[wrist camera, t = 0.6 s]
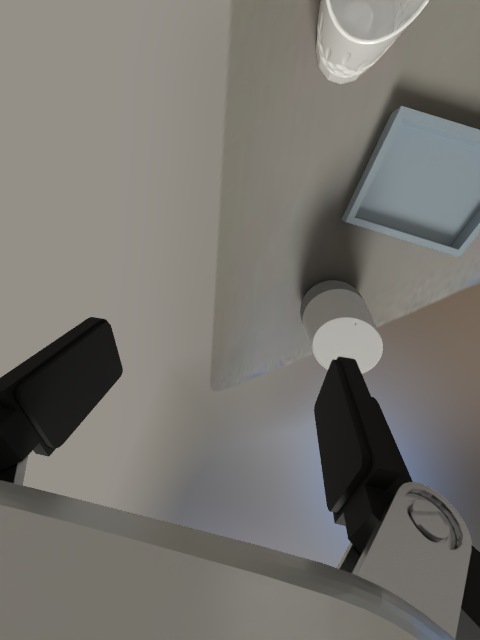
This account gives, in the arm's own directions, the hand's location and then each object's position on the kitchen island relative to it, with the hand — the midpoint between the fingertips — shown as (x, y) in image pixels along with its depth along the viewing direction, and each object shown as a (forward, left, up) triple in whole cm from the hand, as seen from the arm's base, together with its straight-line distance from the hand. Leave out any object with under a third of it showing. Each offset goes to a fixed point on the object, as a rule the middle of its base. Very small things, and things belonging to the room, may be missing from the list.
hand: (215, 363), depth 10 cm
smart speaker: (+7, +14, -30) cm, 33 cm away
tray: (-11, +18, -29) cm, 36 cm away
